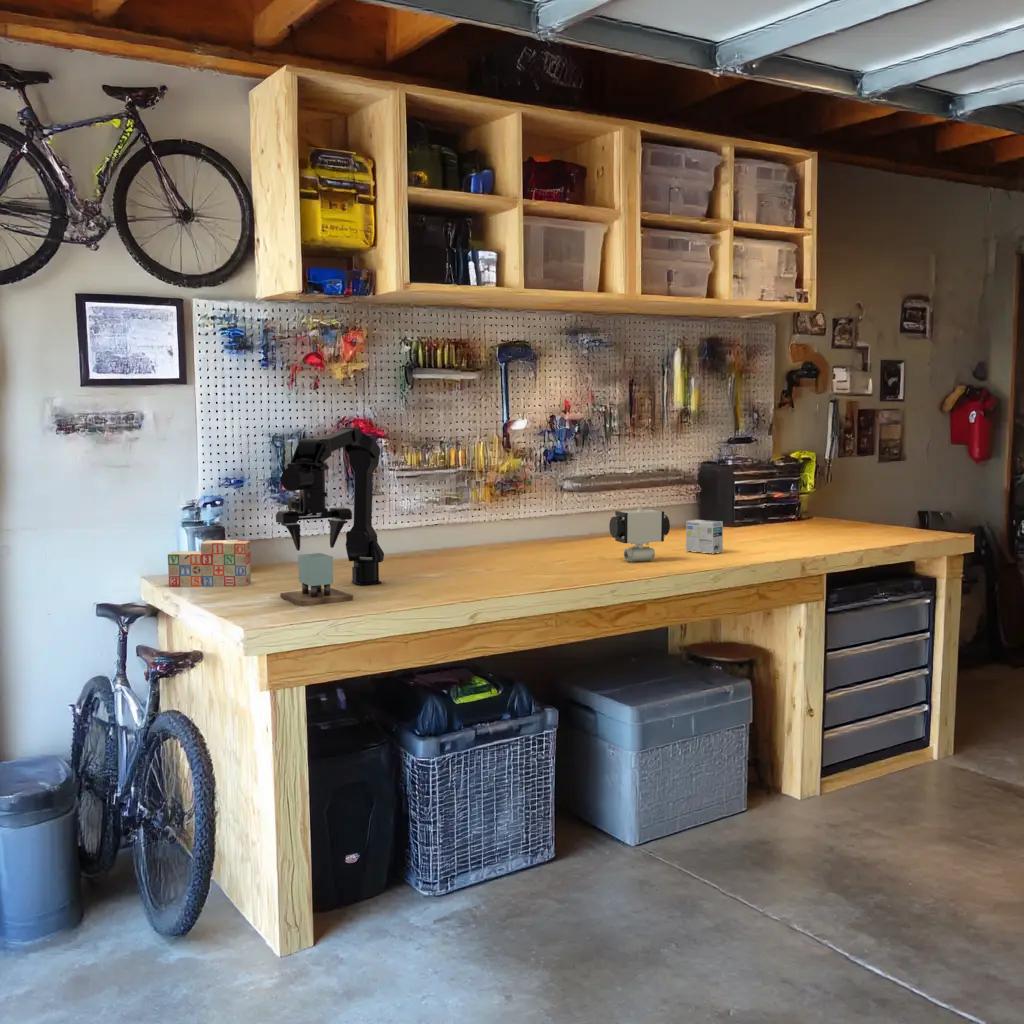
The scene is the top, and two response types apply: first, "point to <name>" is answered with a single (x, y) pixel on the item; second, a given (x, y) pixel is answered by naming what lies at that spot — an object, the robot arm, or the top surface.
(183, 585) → the stack of blocks
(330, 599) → the peg stand
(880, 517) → the top surface
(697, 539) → the light bulb box
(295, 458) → the robot arm
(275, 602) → the top surface
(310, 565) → the teal block
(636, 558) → the ball valve
